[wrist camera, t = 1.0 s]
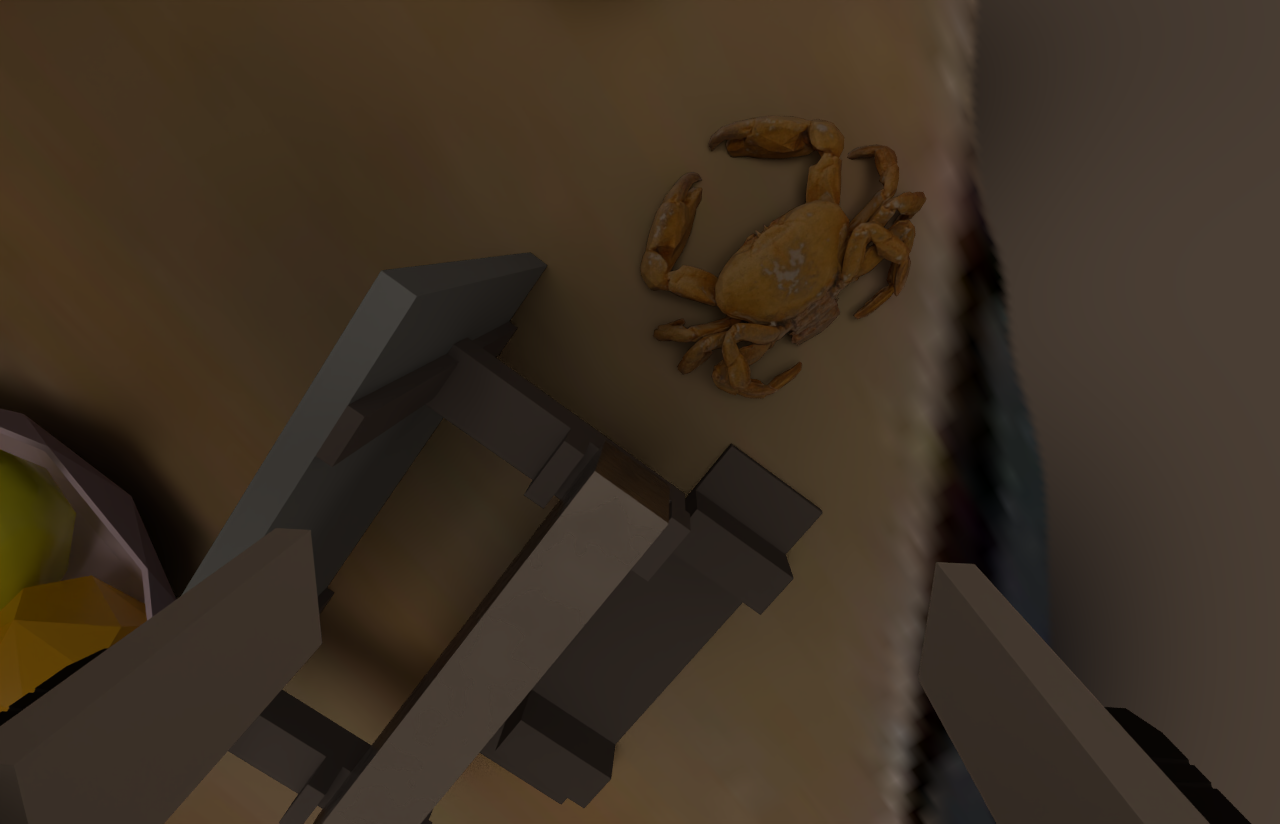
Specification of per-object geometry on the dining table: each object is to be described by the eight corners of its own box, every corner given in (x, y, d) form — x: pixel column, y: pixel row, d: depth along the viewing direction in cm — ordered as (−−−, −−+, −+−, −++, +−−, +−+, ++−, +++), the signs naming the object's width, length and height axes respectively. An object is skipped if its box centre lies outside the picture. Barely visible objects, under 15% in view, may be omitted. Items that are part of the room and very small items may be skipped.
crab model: (799, 54, 35) (821, 21, 30) (946, 241, 37) (991, 240, 32) (585, 257, 38) (571, 259, 33) (731, 419, 40) (739, 446, 35)
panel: (268, 640, 46) (-29, 936, 26) (530, 252, 38) (381, 270, 19) (438, 748, 47) (275, 1102, 28) (722, 395, 40) (765, 547, 20)
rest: (480, 746, 47) (465, 786, 44) (731, 443, 40) (736, 462, 37) (562, 798, 48) (553, 841, 44) (820, 509, 41) (833, 534, 38)
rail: (318, 814, 35) (274, 885, 32) (605, 439, 29) (595, 471, 25) (374, 849, 36) (338, 923, 32) (669, 486, 30) (668, 523, 26)
